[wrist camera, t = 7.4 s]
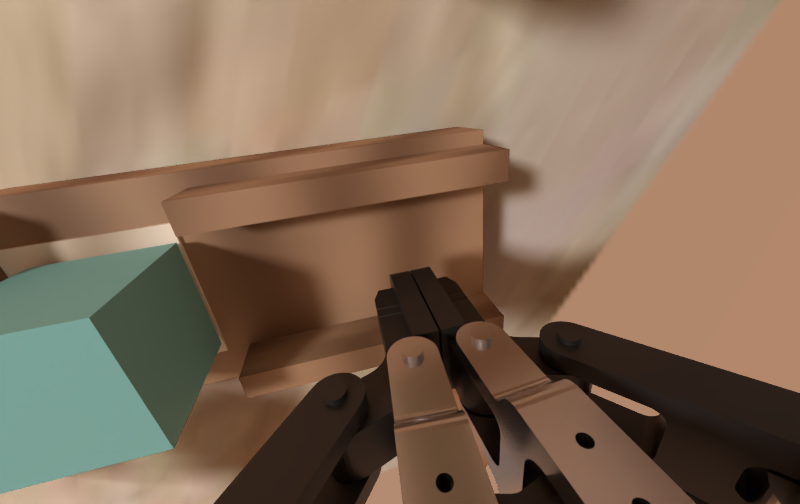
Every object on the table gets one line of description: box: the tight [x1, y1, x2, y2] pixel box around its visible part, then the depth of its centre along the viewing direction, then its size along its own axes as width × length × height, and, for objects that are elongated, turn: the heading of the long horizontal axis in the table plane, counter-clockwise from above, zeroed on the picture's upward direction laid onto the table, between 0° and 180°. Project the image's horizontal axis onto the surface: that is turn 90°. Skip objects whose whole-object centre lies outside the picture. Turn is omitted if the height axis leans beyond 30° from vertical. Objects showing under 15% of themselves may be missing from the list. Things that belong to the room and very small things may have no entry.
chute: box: [0, 127, 509, 398], centre depth 14 cm, size 20×10×6 cm, turn 96°
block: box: [0, 243, 222, 494], centre depth 11 cm, size 5×5×5 cm
